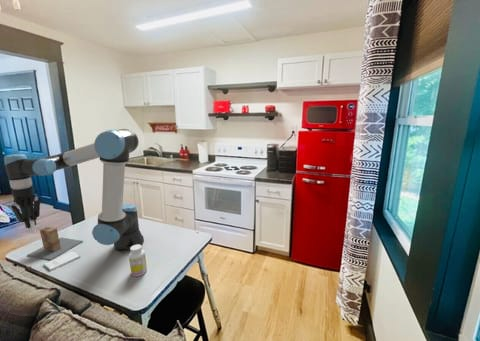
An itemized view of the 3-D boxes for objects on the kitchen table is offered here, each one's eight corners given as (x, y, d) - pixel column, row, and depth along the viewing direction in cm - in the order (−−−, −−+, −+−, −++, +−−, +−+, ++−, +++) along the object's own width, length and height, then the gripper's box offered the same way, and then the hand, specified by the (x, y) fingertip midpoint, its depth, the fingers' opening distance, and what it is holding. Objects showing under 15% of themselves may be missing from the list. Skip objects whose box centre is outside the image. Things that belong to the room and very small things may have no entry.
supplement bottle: (139, 266, 110) (136, 241, 107) (150, 269, 108) (147, 244, 105) (127, 274, 104) (124, 249, 101) (139, 278, 102) (135, 252, 99)
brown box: (61, 248, 125) (57, 228, 122) (54, 252, 121) (49, 231, 118) (51, 246, 126) (46, 226, 124) (44, 250, 123) (39, 230, 120)
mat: (83, 241, 132) (83, 240, 132) (51, 260, 115) (50, 259, 115) (61, 238, 136) (61, 237, 136) (27, 255, 119) (27, 254, 119)
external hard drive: (80, 258, 118) (50, 272, 107) (73, 253, 122) (44, 266, 112) (79, 255, 117) (50, 269, 107) (72, 250, 122) (43, 263, 111)
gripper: (31, 182, 116) (41, 225, 121) (-1, 190, 103) (11, 238, 109) (42, 183, 114) (52, 227, 119) (11, 192, 101) (23, 240, 107)
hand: (32, 232), depth 114 cm, fingers closed
